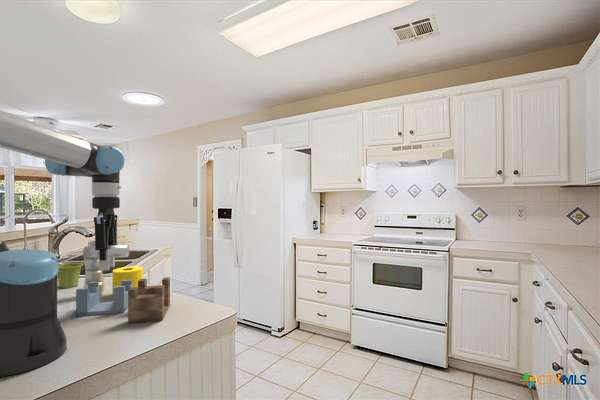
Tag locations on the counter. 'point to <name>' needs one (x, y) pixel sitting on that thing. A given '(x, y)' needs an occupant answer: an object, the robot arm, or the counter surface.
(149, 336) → the counter surface
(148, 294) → the bearing stand
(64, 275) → the plant pot
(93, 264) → the metal bottle
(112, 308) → the blue notched cradle
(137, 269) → the yellow hollow cylinder
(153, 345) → the counter surface
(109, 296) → the counter surface
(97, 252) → the steel axle
